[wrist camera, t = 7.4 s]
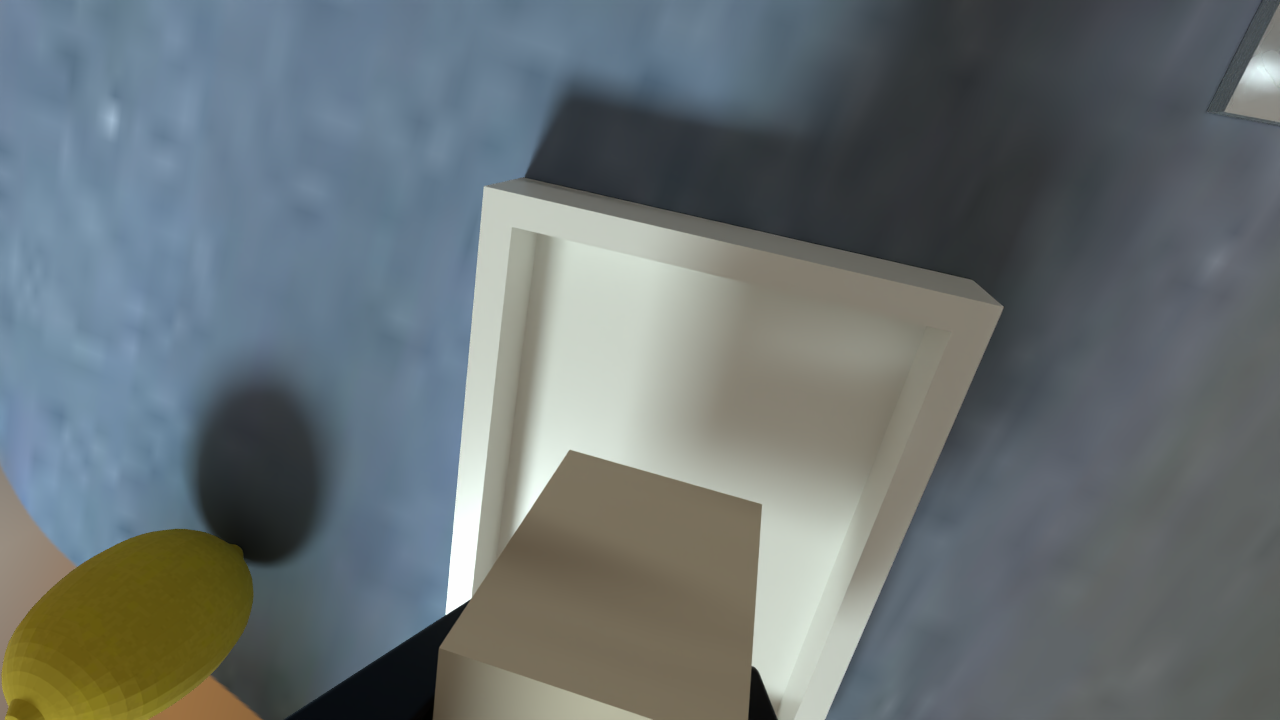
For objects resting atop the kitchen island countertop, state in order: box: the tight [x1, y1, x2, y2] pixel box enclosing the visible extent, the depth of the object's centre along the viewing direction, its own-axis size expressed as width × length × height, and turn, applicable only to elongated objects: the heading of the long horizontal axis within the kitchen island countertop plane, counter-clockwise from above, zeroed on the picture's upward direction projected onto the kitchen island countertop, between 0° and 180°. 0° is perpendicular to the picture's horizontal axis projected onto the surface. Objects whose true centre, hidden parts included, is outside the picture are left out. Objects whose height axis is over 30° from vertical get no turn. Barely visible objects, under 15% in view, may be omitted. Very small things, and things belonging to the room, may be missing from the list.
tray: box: [446, 177, 1004, 720], centre depth 19 cm, size 17×12×2 cm
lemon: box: [2, 529, 253, 720], centre depth 21 cm, size 6×6×8 cm
